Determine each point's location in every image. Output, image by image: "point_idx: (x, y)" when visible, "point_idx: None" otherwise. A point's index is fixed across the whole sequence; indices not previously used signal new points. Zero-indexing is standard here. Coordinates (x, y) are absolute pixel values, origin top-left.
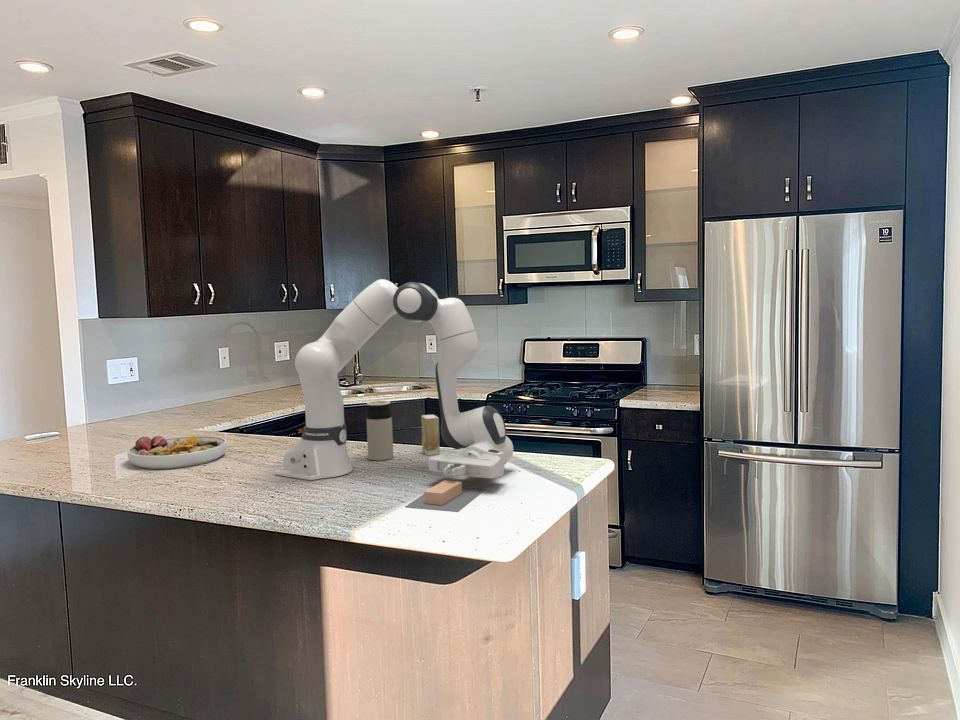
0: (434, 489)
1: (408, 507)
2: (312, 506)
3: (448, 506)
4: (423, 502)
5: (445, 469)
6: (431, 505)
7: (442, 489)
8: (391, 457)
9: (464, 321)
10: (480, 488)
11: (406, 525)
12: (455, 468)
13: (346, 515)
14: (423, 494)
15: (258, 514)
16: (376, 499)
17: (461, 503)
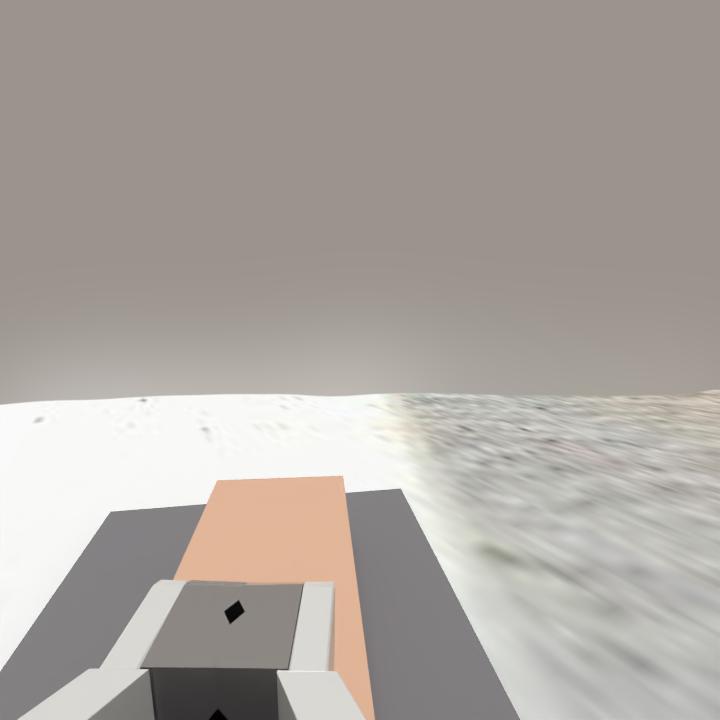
0: (301, 513)
1: (381, 491)
2: (695, 438)
3: (179, 545)
4: (359, 551)
5: (313, 585)
6: None
7: (242, 527)
8: None
9: None
10: None
11: (284, 423)
12: (136, 638)
13: (511, 425)
14: (505, 694)
15: (688, 395)
16: (653, 538)
17: (88, 614)
